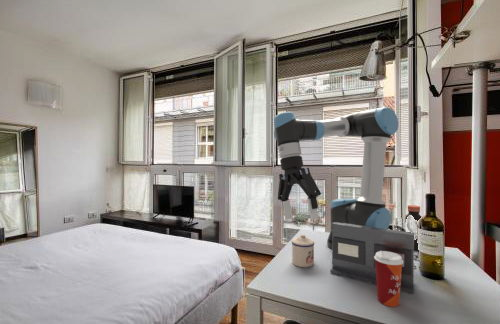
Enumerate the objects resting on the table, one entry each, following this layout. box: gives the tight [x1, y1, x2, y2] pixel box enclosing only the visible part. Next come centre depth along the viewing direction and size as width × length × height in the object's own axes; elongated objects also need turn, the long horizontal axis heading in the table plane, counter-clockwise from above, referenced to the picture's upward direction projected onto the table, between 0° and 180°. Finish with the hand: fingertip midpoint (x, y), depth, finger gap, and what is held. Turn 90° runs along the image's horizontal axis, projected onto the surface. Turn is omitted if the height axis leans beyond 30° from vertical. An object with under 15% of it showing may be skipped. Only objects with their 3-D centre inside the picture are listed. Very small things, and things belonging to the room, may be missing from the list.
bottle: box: [404, 204, 422, 252], centre depth 119 cm, size 7×7×20 cm
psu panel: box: [329, 222, 415, 294], centre depth 90 cm, size 8×26×18 cm, turn 56°
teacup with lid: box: [291, 234, 315, 268], centre depth 104 cm, size 12×9×12 cm
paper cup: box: [374, 251, 403, 308], centre depth 76 cm, size 8×8×14 cm
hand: (301, 219), depth 84 cm, fingers open, 13 cm apart
